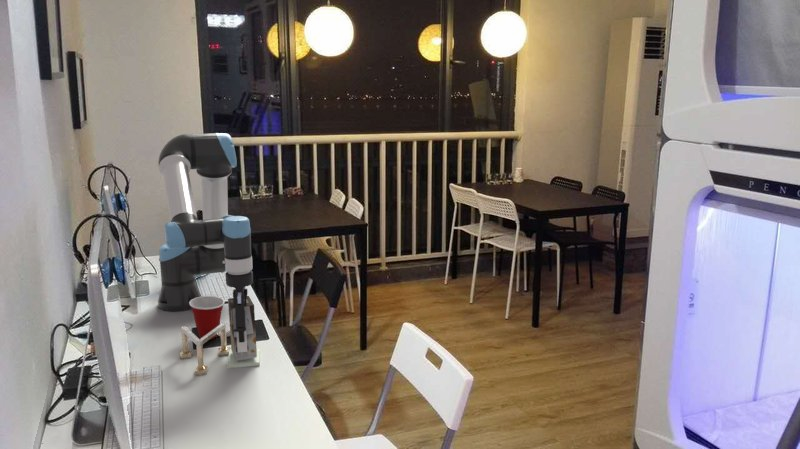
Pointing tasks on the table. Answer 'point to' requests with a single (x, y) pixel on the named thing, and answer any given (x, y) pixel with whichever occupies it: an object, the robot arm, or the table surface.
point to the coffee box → (249, 330)
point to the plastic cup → (207, 313)
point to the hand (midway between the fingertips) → (243, 344)
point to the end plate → (243, 361)
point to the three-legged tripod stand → (199, 342)
